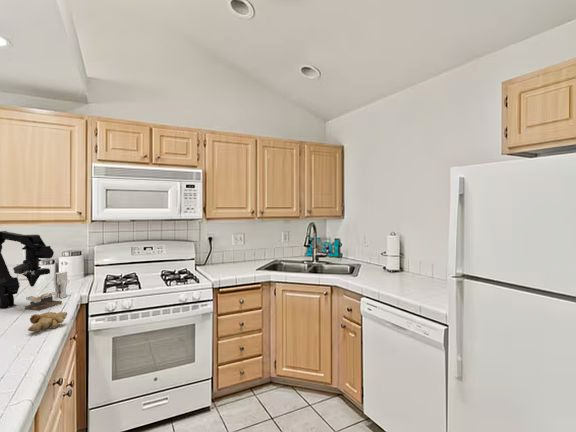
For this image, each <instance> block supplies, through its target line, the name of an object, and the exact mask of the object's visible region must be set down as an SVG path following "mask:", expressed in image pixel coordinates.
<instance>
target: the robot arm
mask: <svg viewBox="0 0 576 432" xmlns="http://www.w3.org/2000/svg"><path fill="white" fill-rule="evenodd" d="M6 241H11V242H17V243H18V242H19V243H20V244H21V245H24V246H23V247H22V248H21V250H22V251H23V250H24V251H25V259H24V260H23V261H22V263H21V264H18V265H16V266H14V267H13V268H12V269H13V273H14V274H15V275H16V274H18V275H22V276H24V277H25V278H26V279H27V281H28V284H29V287H35V285H36V283H37V282H38V279H39V278H40V277H41V276H44V275H48V274H51V269H50V268H46V267H43V268H42V267H41V266H40V262H41V261H42V259H47V260H48V259H52V258H53V257H54V255H55V254H54V253H55V251H54V249H53V248H51V245H46V243H45V242H44V240H43V238H42V237H41V235H40V234H22V233H18V232H11V231H7V230H0V309H8V308H11V307H15V306H17V304H15V297H14V295H17V294H18V292H19V288H20V282H19V280H18V277H13V276H12V275H11V273H10V271H9V269H8V265H7V263H6V262H5V259H4V257H3V253H2V250H3V244H4V243H5V242H6Z"/></svg>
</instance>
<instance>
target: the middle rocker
mask: <svg viewBox="0 0 576 432" xmlns="http://www.w3.org/2000/svg"><path fill="white" fill-rule="evenodd" d="M47 296H49V293H43V294H41V295H40V296H38V297H36V298H40V299H43V298H45V297H47ZM49 297H50V296H49Z"/></svg>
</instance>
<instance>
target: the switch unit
mask: <svg viewBox="0 0 576 432" xmlns="http://www.w3.org/2000/svg"><path fill="white" fill-rule="evenodd" d="M53 296H54V295H52V296H49V297H46V298H42V299H41V301H40V302H37V303H35V302H32V301H30V302H29V305H25V306H24V310H31V311H42V310H46V309H49V307H50V308H53V307H56V306H58V304H59V305H62V304H63V301H62V300H54V299H53ZM61 303H62V304H61ZM55 305H56V306H55ZM52 306H53V307H52Z"/></svg>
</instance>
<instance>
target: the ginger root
mask: <svg viewBox="0 0 576 432" xmlns="http://www.w3.org/2000/svg"><path fill="white" fill-rule="evenodd" d="M67 316H68V312H67V311H63V312H53V311H48V312H44V313H43V312H42V313H39V314H38V313H35V314H33V315H31V316H30V317H29V322H30V324H31V326H30V327H28V329H27V331H29V332H34V333H36V332H38V331H42V330H46V329H48V328H50V329H56V328H57V327H58V326H59V324H62V323H64V321H65V320H66V318H67Z"/></svg>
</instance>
